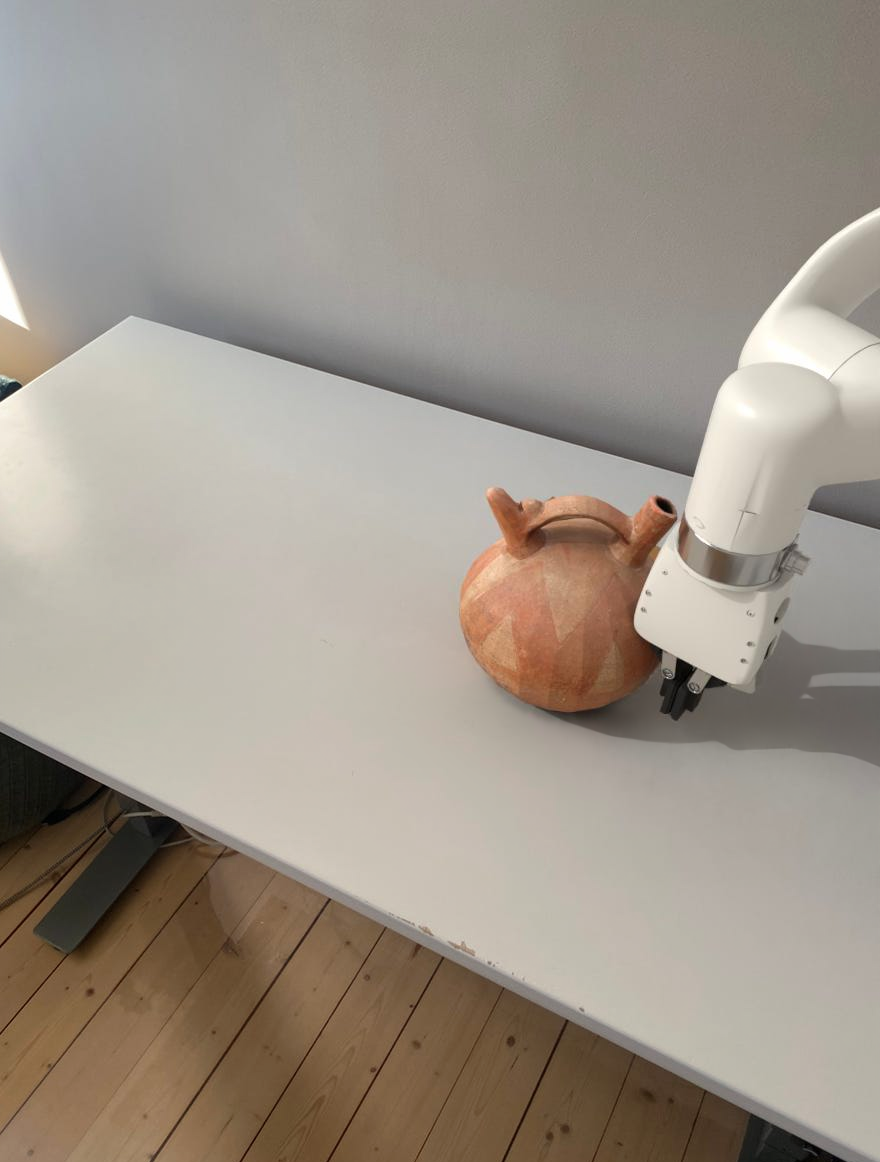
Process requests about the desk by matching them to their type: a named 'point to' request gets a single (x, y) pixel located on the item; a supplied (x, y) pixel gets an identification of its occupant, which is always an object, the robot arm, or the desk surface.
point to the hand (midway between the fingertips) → (676, 706)
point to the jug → (563, 599)
